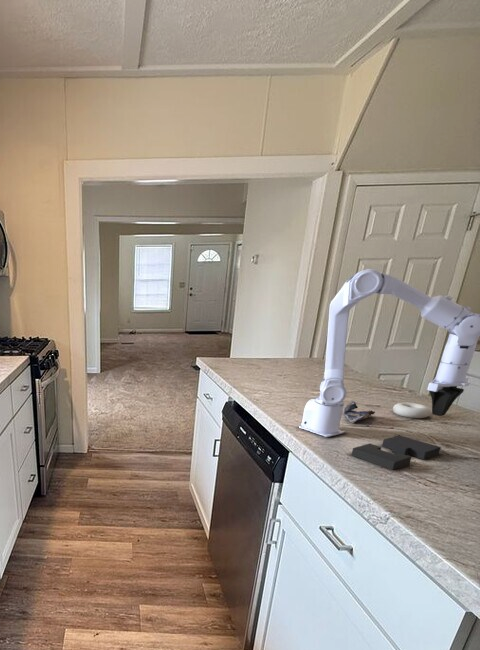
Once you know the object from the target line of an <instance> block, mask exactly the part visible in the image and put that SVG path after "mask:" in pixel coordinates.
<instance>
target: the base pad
mask: <svg viewBox="0 0 480 650" xmlns="http://www.w3.org/2000/svg"><path fill="white" fill-rule="evenodd" d="M351 456H352V457H355V458H358V459H360V460H363V461H366V462H368V463H369V462H370V463H372V464H374V465H377V466H379V467H383V468H385V469H388V470H391V471H393V470H396V469H400V468H402V467H405V466H408V465H410V464H411V460H412V456H411V455H405V454H401V453H393V452H389V451H386V450H383V449H382V446H379V445H376V444H374V443H373V444H372V443H366V444H363V445H359V446H356V447H353V448H352V451H351Z"/></svg>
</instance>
